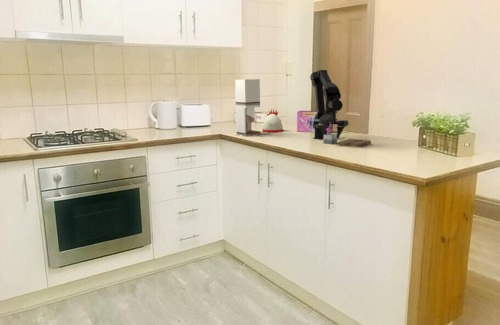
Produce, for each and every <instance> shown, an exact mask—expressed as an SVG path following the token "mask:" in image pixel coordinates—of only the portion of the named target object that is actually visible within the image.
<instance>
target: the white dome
mask: <svg viewBox="0 0 500 325" xmlns="http://www.w3.org/2000/svg"><path fill="white" fill-rule="evenodd" d="M278 114H279V111H277V109H270V111H268V113H266V115H267V116H266V118H265V119H264V121H263V125H262V132H263V133H267V134H268V133H270V134H271V133H273V134H274V133H276V134H277V133H282V132H284V127H283V124H282V120H281V119H280V117H279V116H278Z"/></svg>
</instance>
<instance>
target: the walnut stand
mask: <svg viewBox="0 0 500 325" xmlns="http://www.w3.org/2000/svg"><path fill="white" fill-rule="evenodd" d="M371 144H372V140H370V139H360V138H359V139H357V138H348V139H345V140H341V141H339V146H341V147H342V146H343V147H344V146H345V147H354V148H364V147H366V146H369V145H371Z"/></svg>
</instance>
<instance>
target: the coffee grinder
mask: <svg viewBox="0 0 500 325" xmlns="http://www.w3.org/2000/svg"><path fill="white" fill-rule="evenodd" d="M260 80H261V79H260V78H257V79H256V78H255V79H254V78H252V79H250V78H247V79H244V78H243V79H242V78H241V79H234V87H235V88H234V90H235V120H236V125H235V126H236V127H235V129H236V136H240V135H242V136H241V137H246V136H247V137H253V136H254V135H255V136H260V135H261V134H262V133H261V131H259V130H253V129H252V127H253V126H252V123H254V122H255V117H256V116H255V114H256V113H255V108H260V107H261V83H260V82H261V81H260Z"/></svg>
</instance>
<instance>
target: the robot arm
mask: <svg viewBox="0 0 500 325" xmlns="http://www.w3.org/2000/svg"><path fill="white" fill-rule="evenodd" d="M309 78H310V81H311V84H312V86H313V87H314V92H315V103H316V111H317V113H316V115H315V118H314V121H313V124H312V125H313V128H314V129H315V133H314V137H313V139H317V140H324V134H328V133H327V128H329V124H333V125H336V131H337V132H336V134H337V140H339V139H340V136H341V134H342V132H343V130H344V128H346V127H347V126H349V121H348V120H347V119H339V120H338V118H337V114H338V111H341V110H342V108H343V105H344V104H343V102H342V101H341V100H340V99H341V98H342V94H341V92H340V89H339V87H338V85H336V84H335V83H334V82H332V80H331V78H330V76H329V74H328V70H327V69H318V70H317V71H313V72H312V73H311V74H310V77H309Z"/></svg>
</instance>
